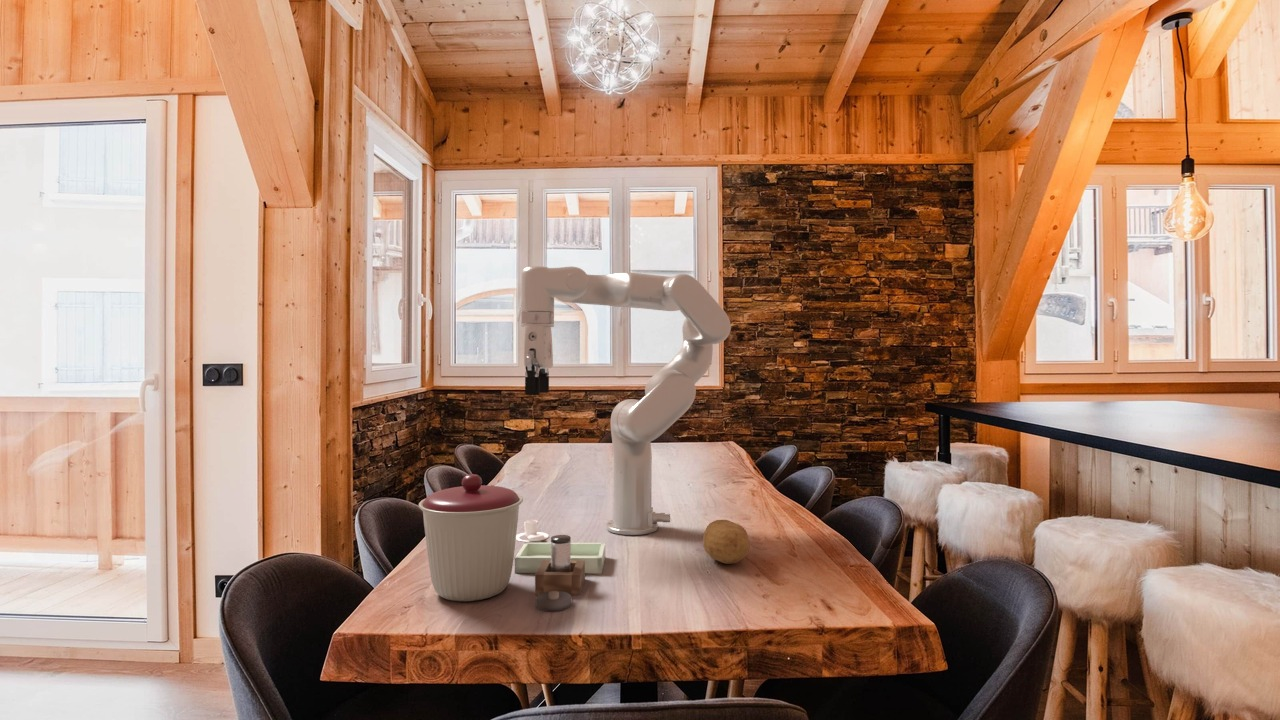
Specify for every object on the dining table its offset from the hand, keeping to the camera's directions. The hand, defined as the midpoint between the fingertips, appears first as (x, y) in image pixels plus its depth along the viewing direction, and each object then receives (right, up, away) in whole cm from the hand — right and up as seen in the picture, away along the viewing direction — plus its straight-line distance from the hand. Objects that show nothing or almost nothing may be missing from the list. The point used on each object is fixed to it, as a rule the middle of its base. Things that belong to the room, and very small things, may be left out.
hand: (537, 393), depth 148 cm
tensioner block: (+9, -34, -35) cm, 50 cm away
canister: (-6, -34, -34) cm, 48 cm away
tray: (+8, -34, -19) cm, 40 cm away
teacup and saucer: (-3, -34, -2) cm, 34 cm away
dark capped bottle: (+9, -34, -31) cm, 47 cm away
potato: (+42, -34, -17) cm, 56 cm away
